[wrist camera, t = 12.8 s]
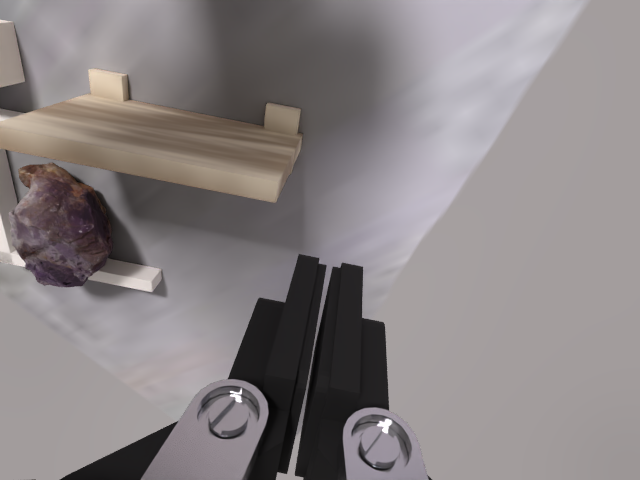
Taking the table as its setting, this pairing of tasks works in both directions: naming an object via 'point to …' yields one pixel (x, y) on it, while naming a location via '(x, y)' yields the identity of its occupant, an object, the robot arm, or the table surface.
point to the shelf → (161, 140)
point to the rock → (59, 227)
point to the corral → (114, 272)
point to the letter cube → (9, 56)
